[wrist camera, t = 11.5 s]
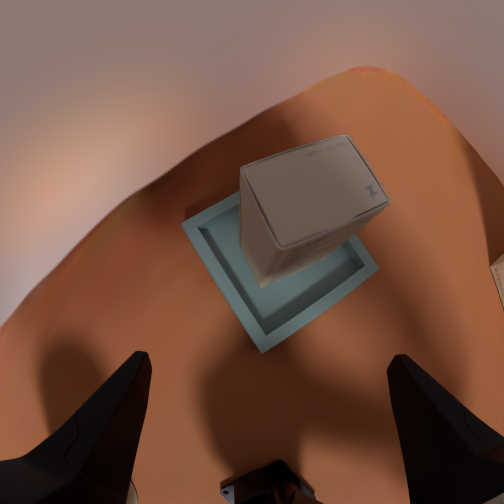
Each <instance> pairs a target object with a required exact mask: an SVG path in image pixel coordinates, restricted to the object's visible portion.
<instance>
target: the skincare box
mask: <svg viewBox="0 0 504 504" xmlns="http://www.w3.org/2000/svg"><path fill="white" fill-rule="evenodd" d="M390 203H391V201H390V199H389V197H388V196H387V194H386V192H385V190H384V189H383V187H382V185H381V184H380V182H379V180H378V178H377V177H376V175H375V174H374V172H373V171H372V169H371V167H370V166H369V164H368V163H367V161H366V160H365V158H364V157H363V155H362V154H361V152H360V151H359V150H358V148H357V147H356V145H355V144H354V143H353V141H352V140H351V138H350V137H349V136H348V135H346V134H345V135H340V136H335V137H331V138H327V139H323V140H319V141H316V142H312V143H309V144H305V145H302V146H299V147H296V148H293V149H289V150H286V151H283V152H280V153H277V154H274V155H271V156H269V157H266V158H263V159H260V160H257V161H254V162H252V163H249V164H247V165H244V166H242V167H241V168H240V197H239V246H240V248H241V251H242V253H243V255H244V258H245V260H246V262H247V265H248V267H249V269H250V271H251V274H252V276H253V278H254V280H255V282H256V284H257V286H258V287H259V288H262V287H265V286H267V285H270V284H272V283H275V282H277V281H279V280H282V279H284V278H286V277H288V276H291V275H293V274H295V273H297V272H300V271H302V270H304V269H306V268H308V267H310V266H312V265H314V264H316V263H318V262H320V261H322V260H324V259H325V258H326V257H327V256H328V255H330V254H331V253H332V252H333V251H335V250H336V249H337V248H338V247H340V246H341V245H342V244H343V243H344V242H346V241H347V240H348V239H349V238H350V237H352V236H353V235H354V234H355V233H356V232H358V231H359V230H360V229H361V228H362V227H363V226H365V225H366V224H367V223H368V222H369V221H371V220H372V219H373V218H374V217H375V216H376V215H378V214H379V213H380V212H381V211H382V210H383V209H384V208H386V207H387V206H388V205H389V204H390Z"/></svg>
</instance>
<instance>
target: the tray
mask: <svg viewBox="0 0 504 504" xmlns="http://www.w3.org/2000/svg"><path fill="white" fill-rule="evenodd" d="M239 197H240V191H238V192H236V193H234V194H232V195H231V196H229V197H227V198H225V199H223V200H221V201H220V202H218V203H216V204H214V205H212V206H211V207H209V208H207V209H205V210H204V211H202V212H200V213H198V214H197V215H195V216H193V217H191V218H190V219H188V220H186V221H184V222H183V223H181V225H182V227H183V229H184V231H185V233H186V235H187V237H188V238H189V240H190V242H191V243H192V245H193V247H194V248H195V250H196V252H197V253H198V255H199V257H200V258H201V260H202V262H203V263H204V265H205V267H206V268H207V270H208V272H209V273H210V275H211V277H212V278H213V280H214V281H215V283H216V285H217V286H218V288H219V290H220V291H221V293H222V294H223V296H224V298H225V299H226V301H227V302H228V304H229V305H230V307H231V309H232V310H233V312H234V313H235V315H236V316H237V318H238V320H239V321H240V323H241V324H242V326H243V327H244V329H245V330H246V332H247V333H248V335H249V336H250V338H251V340H252V341H253V343H254V344H255V346H256V347H257V349H258V350H259V352H260V353H261V354H263V353H264V352H266V351H268V350H269V349H271V348H272V347H274V346H275V345H277V344H278V343H280V342H281V341H283V340H284V339H286V338H287V337H289V336H290V335H292V334H293V333H295V332H296V331H298V330H299V329H300V328H302V327H303V326H305V325H306V324H308V323H309V322H311V321H312V320H313V319H315V318H316V317H318V316H319V315H320V314H322V313H323V312H324V311H326V310H327V309H329V308H330V307H331V306H333V305H334V304H335V303H337V302H338V301H339V300H341V299H342V298H343V297H345V296H346V295H347V294H349V293H350V292H351V291H352V290H354V289H355V288H356V287H358V286H359V285H360V284H361V283H363V282H364V281H365V280H366V279H368V278H369V277H370V276H371V275H373V274H374V273H375V272H376V271H378V270H379V267H378V266H377V264H376V263H375V261H374V260H373V258H372V256H371V255H370V253H369V252H368V251H367V249H366V248H365V246H364V245H363V243H362V242H361V240H360V239H359V237H358V236H357V235H356V233H355V234H354V235H353V236H352V237H350V238H349V239H348V240H347V241H346V242H344V243H343V244H342V245H341V246H340V247H338V248H337V249H336V250H335V251H333V252H332V253H331V254H330V255H328V256H327V257H326V258H325V259H324V260H322V261H320V262H318V263H316V264H314V265H312V266H310V267H308V268H306V269H304V270H302V271H300V272H297V273H295V274H293V275H291V276H288V277H286V278H284V279H282V280H279V281H277V282H275V283H272V284H270V285H267V286H265V287H262V288H259V287H258V286H257V284H256V282H255V280H254V278H253V276H252V274H251V271H250V269H249V267H248V265H247V262H246V260H245V258H244V255H243V253H242V251H241V248H240V246H239Z"/></svg>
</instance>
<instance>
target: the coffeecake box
mask: <svg viewBox="0 0 504 504" xmlns="http://www.w3.org/2000/svg"><path fill="white" fill-rule="evenodd" d="M490 269H491V271H492V274H493V277H494V280H495V283H496V286H497V289H498V292H499V295H500V298H501V301H502V305H503V308H504V253H503V254H502V255H501V256H500V257H499V258H498V259H497V260H496V261H495V262H494V263H493V264H492V265H491V266H490Z"/></svg>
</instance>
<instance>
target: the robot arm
mask: <svg viewBox="0 0 504 504" xmlns="http://www.w3.org/2000/svg"><path fill="white" fill-rule="evenodd" d="M151 375H152V365H151V362H150V359H149V355H148V353H147V352H143V351H135V352H134V353H133V354H132V355H131V356H130V357H129V358H128V359H127V360H126V361H125V362H124V363H123V364H122V365H121V366H120V367H119V368H118V369H117V370H116V371H115V372H114V373H113V374H112V375H111V376H110V377H109V378H108V379H107V380H106V381H105V382H104V383H103V384H102V385H101V386H100V387H99V388H98V389H97V390H96V391H95V392H94V393H93V394H92V395H91V396H90V398H89V399H88V400H87V401H86V402H85V403H84V404H83V405H82V406H81V407H80V408H79V409H78V410H77V411H76V412H75V414H73V415H72V416H71V417H70V418H69V419H68V420H67V421H66V422H65V423H64V424H63V425H62V426H61V427H60V428H58V429H57V430H56V431H55V432H54V433H53V434H51V435H50V436H49V437H48V438H46V439H45V440H44V441H43V442H41V443H40V444H39V445H38V446H36V447H35V448H34V449H33V450H31V451H30V452H29V453H27V454H25V455H24V456H21V457H19V458H15V459H10V460H3V461H0V504H126V502H127V497H128V491H129V486H130V481H131V476H132V471H133V466H134V462H135V457H136V453H137V448H138V444H139V440H140V435H141V431H142V427H143V423H144V419H145V415H146V410H147V404H148V397H149V389H150V382H151ZM387 377H388V384H389V390H390V397H391V404H392V409H393V414H394V418H395V422H396V426H397V431H398V435H399V440H400V445H401V450H402V455H403V460H404V465H405V471H406V477H407V483H408V490H409V498H410V504H504V437H503V436H502V435H500V434H499V433H497V432H496V431H495V430H493V429H492V428H491V427H489V426H488V425H487V424H485V423H484V422H483V421H481V420H480V419H479V418H478V417H476V416H475V415H474V414H473V413H472V412H471V411H469V410H468V409H467V408H466V407H465V406H463V404H462V403H461V402H459V401H458V400H457V399H456V398H455V397H454V396H453V395H452V394H450V393H449V392H448V391H447V390H446V389H445V388H444V387H443V386H441V385H440V384H439V383H438V382H437V381H436V380H435V379H434V378H432V377H431V376H430V375H429V374H428V373H427V372H426V371H424V370H423V369H422V368H421V367H420V366H419V365H418V364H416V363H415V362H414V361H413V360H412V359H411V358H410V357H408V356H407V355H406V354H398V355H395V356H394V358H393V360H392V361H391V363H390V365H389V366H388V369H387ZM278 464H282V465H281V466H277V465H278ZM225 490H226V491H229V492H224V491H225ZM220 493H221V495H222V496H223V497H224V498H225V499H226V500H227V501H228V502H229V503H230V504H323V503H321V502H319V501H317V500H316V497H315V496H314V494H313V493H312V492H311V491H310V490H309V489H308V488H307V487H306V486H305V485H304V483H303V482H302V481H301V480H300V479H299V478H298V477H297V476H296V474H295V473H294V472H293V471H292V470H291V469H290V467H289V466H288V465H287V464H286V463H285V461H283V460H276V461H274V462H273V463H271V464H269V465H267V466H265V467H263V468H262V469H256V470H254V471H252V472H250V473H248V474H246V475H244V476H242V477H240V478H238V479H236V480H235V481H234V482H233V483H231V484H229V485H226V486H224V487H222V488H221V490H220Z"/></svg>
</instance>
